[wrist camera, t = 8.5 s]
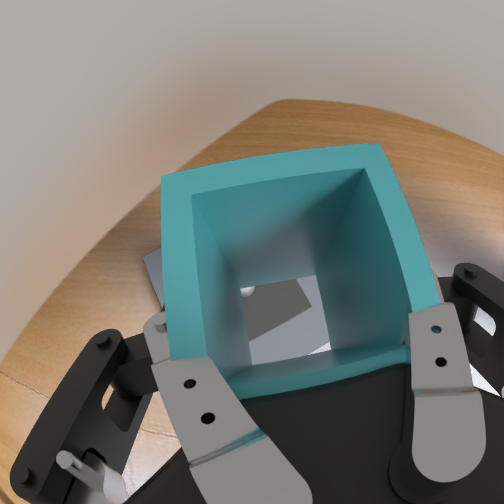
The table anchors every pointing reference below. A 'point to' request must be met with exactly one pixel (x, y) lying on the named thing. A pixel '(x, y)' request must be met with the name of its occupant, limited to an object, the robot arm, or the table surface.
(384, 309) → the teal square container
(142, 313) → the table surface
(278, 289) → the post plate
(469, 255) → the table surface
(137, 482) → the table surface
